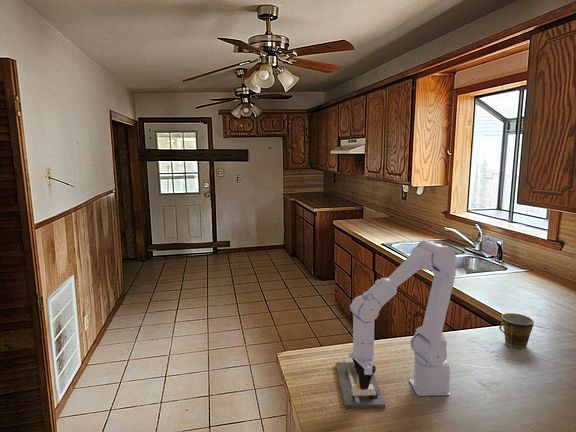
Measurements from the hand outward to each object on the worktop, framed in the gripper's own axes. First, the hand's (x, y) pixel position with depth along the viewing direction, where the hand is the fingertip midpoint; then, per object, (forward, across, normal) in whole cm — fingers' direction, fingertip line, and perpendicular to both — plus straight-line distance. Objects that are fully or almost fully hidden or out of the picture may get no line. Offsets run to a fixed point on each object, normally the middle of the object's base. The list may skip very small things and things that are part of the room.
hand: (362, 384), depth 109 cm
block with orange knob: (+3, 0, 0) cm, 3 cm away
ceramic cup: (+5, -30, +60) cm, 67 cm away
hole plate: (+5, -7, 0) cm, 8 cm away
